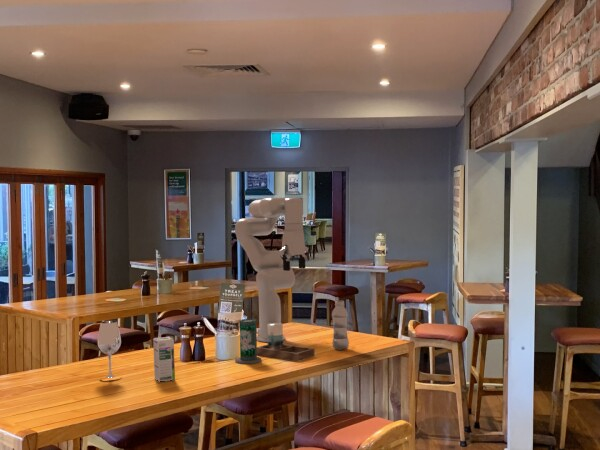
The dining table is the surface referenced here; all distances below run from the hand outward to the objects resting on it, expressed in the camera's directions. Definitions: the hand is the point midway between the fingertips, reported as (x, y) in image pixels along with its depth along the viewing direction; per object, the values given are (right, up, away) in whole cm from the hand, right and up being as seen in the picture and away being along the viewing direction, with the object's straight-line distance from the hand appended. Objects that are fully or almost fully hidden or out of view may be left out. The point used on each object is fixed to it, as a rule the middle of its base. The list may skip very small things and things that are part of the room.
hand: (294, 269), depth 279 cm
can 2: (-7, -33, -8) cm, 35 cm away
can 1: (-17, -33, -19) cm, 42 cm away
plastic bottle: (+19, -33, -2) cm, 38 cm away
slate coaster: (-18, -34, -19) cm, 43 cm away
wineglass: (-64, -36, -42) cm, 85 cm away
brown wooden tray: (-4, -33, -11) cm, 35 cm away
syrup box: (-45, -35, -45) cm, 73 cm away
